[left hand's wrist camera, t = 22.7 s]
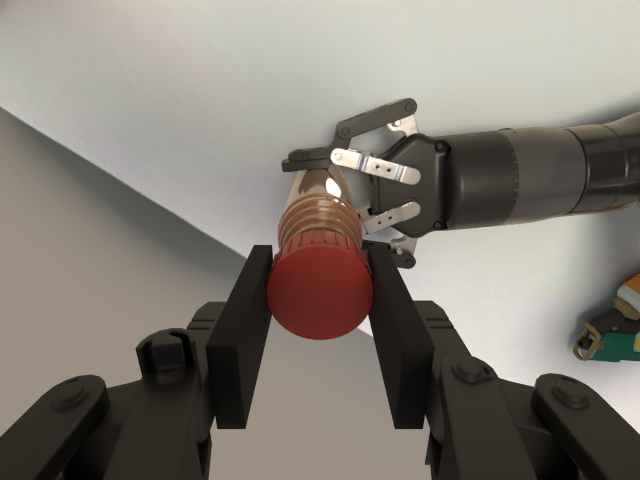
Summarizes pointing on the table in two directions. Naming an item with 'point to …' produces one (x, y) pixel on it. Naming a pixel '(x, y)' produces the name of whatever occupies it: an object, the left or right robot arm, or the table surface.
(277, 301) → the cap
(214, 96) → the table surface
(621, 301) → the spray gun
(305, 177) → the bottle
